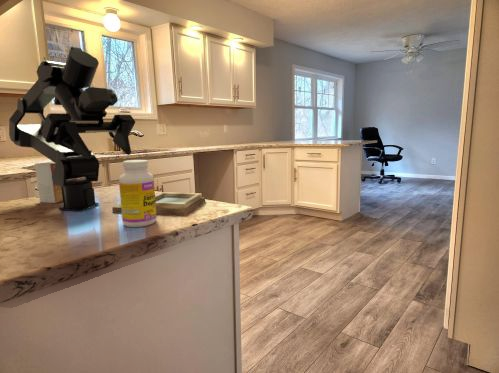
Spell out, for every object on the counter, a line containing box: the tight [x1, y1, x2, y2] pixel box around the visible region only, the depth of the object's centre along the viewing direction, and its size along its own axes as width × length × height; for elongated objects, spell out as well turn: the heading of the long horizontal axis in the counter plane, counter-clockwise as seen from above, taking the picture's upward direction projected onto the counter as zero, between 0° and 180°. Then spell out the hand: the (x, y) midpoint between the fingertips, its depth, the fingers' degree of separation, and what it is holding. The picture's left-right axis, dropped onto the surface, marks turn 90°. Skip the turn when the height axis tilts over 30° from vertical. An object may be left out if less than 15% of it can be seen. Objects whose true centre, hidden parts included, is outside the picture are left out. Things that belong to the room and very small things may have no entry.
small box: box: [34, 161, 78, 204], centre depth 87 cm, size 8×6×10 cm
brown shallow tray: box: [111, 191, 206, 217], centre depth 78 cm, size 18×13×2 cm
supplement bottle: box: [118, 159, 158, 228], centre depth 64 cm, size 7×7×13 cm
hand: (110, 155), depth 67 cm, fingers open, 9 cm apart
